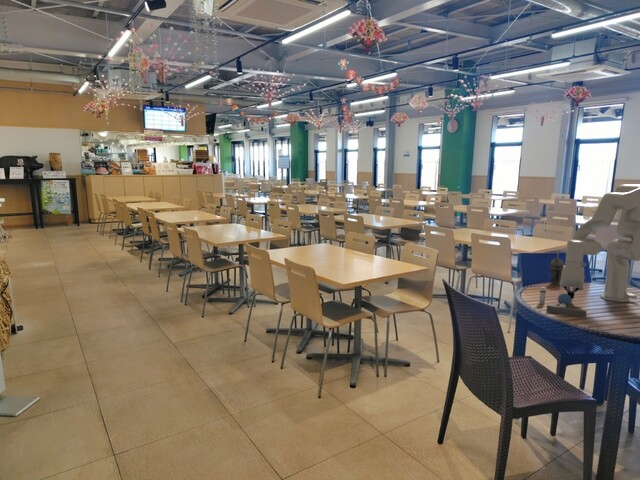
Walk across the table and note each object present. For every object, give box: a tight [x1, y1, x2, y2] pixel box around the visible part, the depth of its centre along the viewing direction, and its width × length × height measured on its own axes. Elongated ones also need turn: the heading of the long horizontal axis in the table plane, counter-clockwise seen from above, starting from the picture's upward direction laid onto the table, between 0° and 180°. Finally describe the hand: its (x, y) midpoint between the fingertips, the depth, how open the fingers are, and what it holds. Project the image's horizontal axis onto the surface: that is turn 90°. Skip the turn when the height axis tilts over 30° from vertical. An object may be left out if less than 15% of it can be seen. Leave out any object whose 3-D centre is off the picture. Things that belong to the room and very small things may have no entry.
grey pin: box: [538, 286, 547, 306], centre depth 216 cm, size 2×2×8 cm
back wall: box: [546, 304, 588, 319], centre depth 201 cm, size 16×2×3 cm, turn 53°
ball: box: [557, 293, 572, 307], centre depth 214 cm, size 6×6×6 cm
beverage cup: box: [549, 250, 565, 286], centre depth 255 cm, size 7×7×20 cm
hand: (570, 299), depth 220 cm, fingers closed
